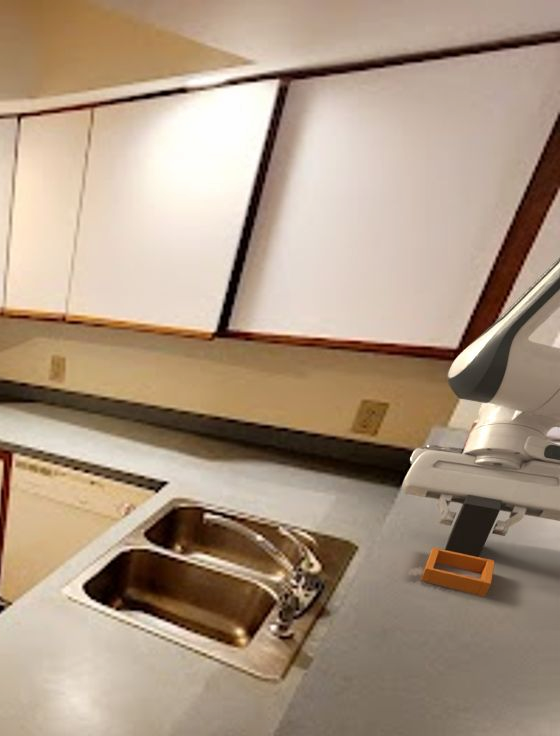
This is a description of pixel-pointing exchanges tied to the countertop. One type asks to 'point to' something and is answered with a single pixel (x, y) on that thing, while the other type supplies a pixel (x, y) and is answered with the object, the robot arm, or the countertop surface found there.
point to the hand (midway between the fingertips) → (471, 528)
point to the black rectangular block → (473, 525)
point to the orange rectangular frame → (456, 579)
